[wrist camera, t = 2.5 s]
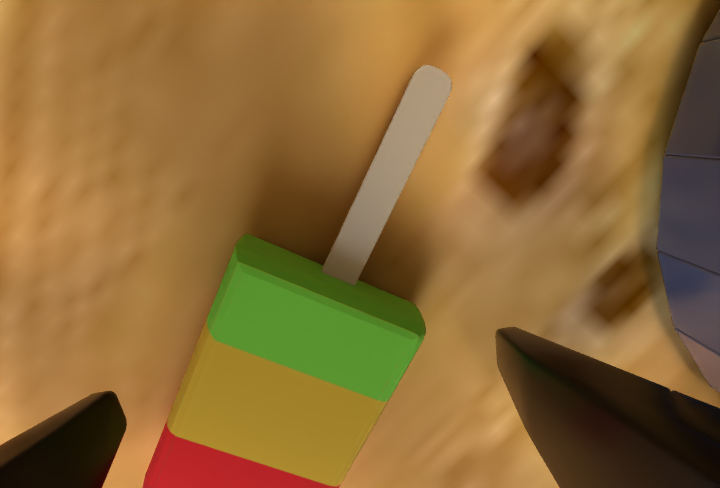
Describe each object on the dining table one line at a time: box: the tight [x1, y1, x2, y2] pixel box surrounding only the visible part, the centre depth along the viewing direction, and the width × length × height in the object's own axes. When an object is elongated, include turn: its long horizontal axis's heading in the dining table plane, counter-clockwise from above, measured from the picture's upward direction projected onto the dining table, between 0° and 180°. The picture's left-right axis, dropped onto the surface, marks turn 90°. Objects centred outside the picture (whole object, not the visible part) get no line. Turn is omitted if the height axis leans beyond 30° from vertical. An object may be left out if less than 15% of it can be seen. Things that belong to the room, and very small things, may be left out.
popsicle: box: [143, 65, 452, 488], centre depth 11 cm, size 6×15×2 cm, turn 155°
